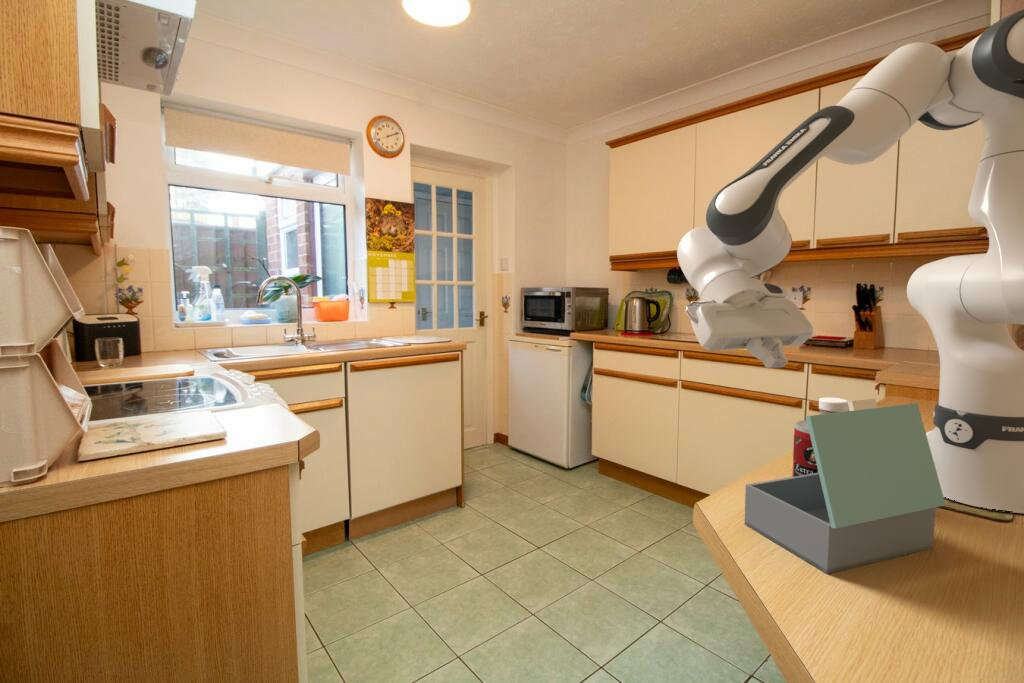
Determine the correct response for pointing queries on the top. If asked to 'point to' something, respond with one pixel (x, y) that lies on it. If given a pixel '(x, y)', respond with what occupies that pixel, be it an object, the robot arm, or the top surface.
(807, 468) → the canned food
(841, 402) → the sprinkles bottle
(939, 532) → the top surface
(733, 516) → the top surface
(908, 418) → the mailer lid
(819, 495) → the box
